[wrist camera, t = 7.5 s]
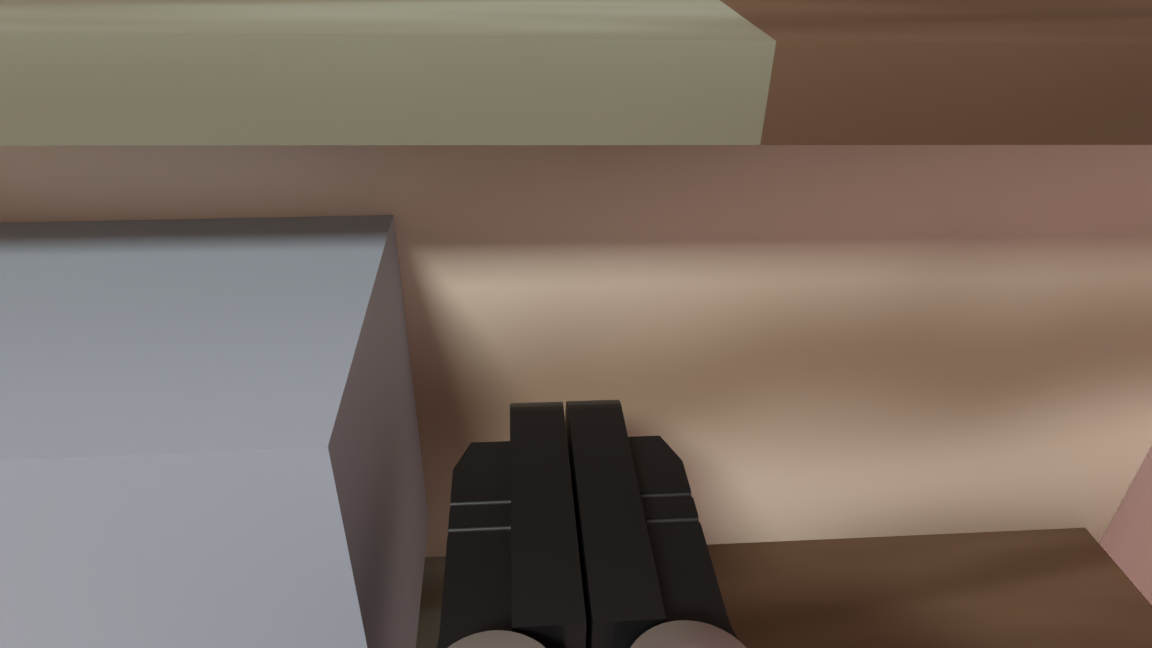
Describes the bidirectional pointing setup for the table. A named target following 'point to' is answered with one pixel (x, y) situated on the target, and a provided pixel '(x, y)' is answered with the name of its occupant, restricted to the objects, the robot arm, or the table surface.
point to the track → (700, 258)
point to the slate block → (208, 436)
